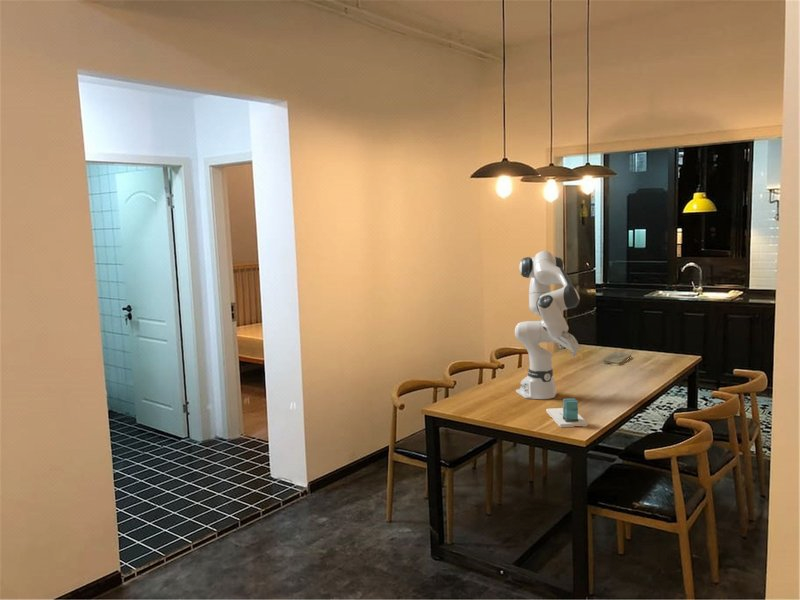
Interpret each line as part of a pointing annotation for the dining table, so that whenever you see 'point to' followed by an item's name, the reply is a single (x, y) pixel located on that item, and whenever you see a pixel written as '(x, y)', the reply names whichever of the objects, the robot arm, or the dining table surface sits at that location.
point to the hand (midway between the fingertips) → (568, 351)
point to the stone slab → (616, 358)
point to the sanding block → (570, 410)
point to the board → (558, 418)
